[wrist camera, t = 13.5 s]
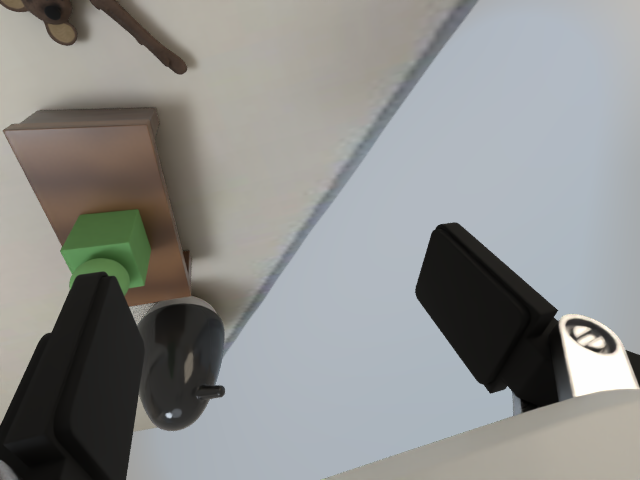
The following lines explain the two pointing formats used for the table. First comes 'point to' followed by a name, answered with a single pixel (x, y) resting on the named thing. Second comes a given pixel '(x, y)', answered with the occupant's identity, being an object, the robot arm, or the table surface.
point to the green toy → (109, 247)
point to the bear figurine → (55, 9)
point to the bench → (105, 182)
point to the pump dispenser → (180, 361)
